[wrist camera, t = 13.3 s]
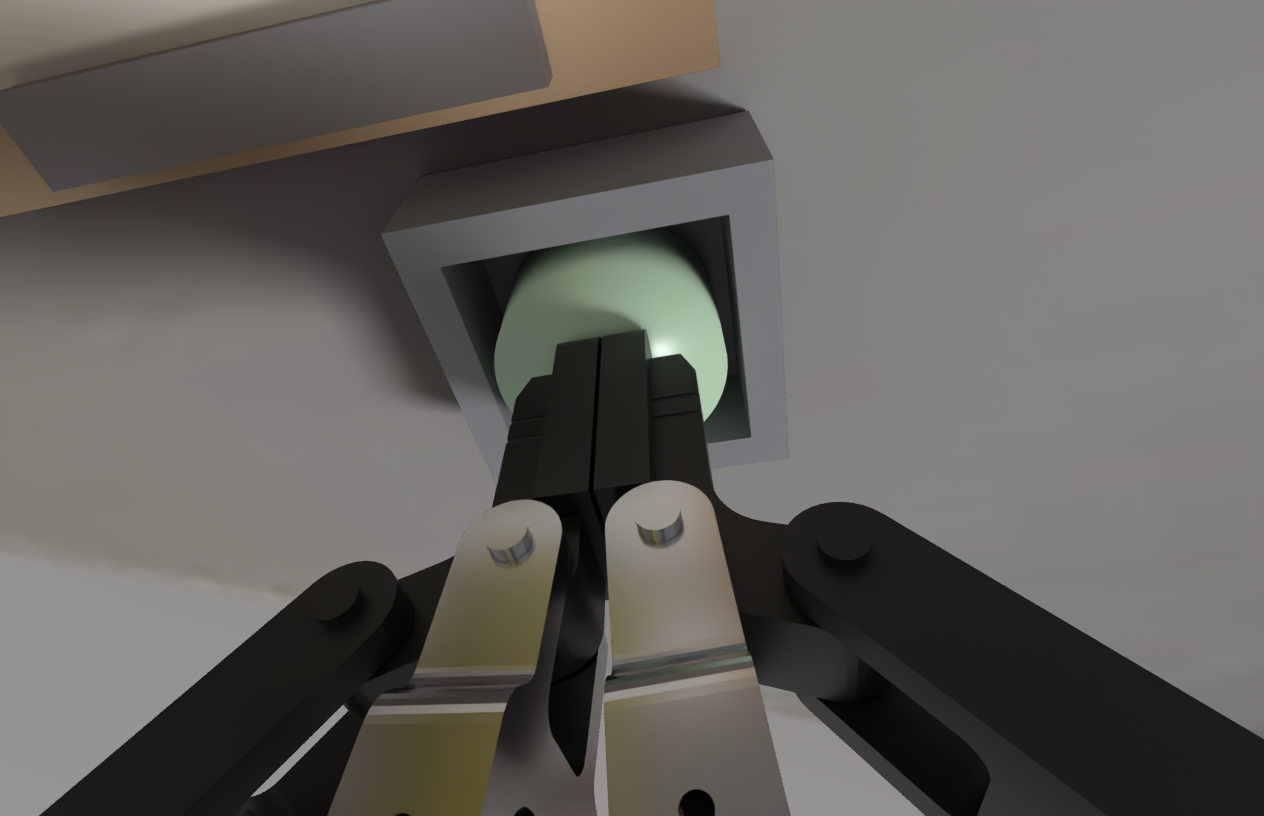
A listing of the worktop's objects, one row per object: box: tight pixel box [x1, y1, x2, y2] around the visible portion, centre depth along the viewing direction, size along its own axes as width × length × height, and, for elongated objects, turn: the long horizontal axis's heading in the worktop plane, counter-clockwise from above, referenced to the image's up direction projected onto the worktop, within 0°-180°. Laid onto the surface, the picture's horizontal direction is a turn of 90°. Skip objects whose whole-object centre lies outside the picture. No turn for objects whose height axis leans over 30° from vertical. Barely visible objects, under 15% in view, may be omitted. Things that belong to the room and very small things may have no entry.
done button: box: [494, 227, 728, 421], centre depth 12 cm, size 4×4×2 cm
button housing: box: [380, 111, 789, 486], centre depth 12 cm, size 6×6×2 cm
